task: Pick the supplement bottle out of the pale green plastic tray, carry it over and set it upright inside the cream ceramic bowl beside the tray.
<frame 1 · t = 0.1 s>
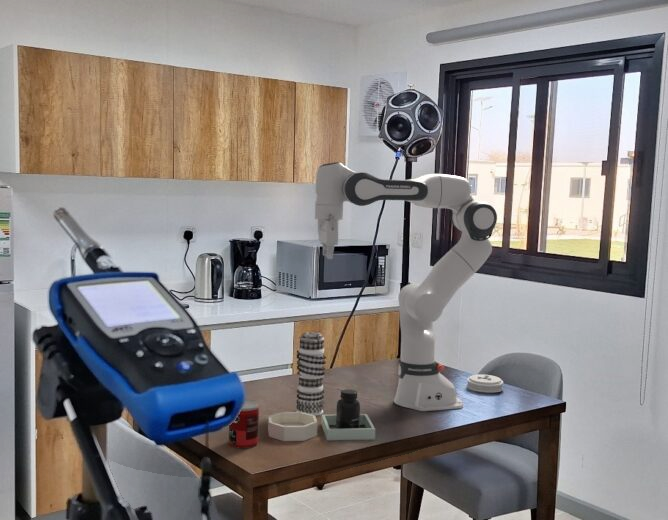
hand: (327, 257, 234), 48 cm above the table, tool pointing down, fingers open, 8 cm apart
canned food: (243, 444, 200), on the table
tray: (347, 431, 212), on the table
supplement bottle: (347, 432, 212), resting in tray
lid: (484, 390, 262), on the table
bowl: (292, 432, 210), on the table
decorative candle: (309, 412, 230), on the table
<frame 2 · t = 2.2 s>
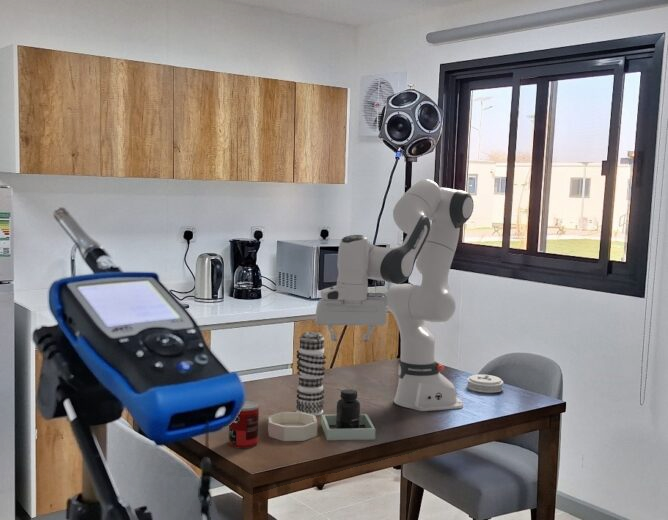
hand: (350, 340, 210), 27 cm above the table, tool pointing down, fingers open, 8 cm apart
nothing on the table moved.
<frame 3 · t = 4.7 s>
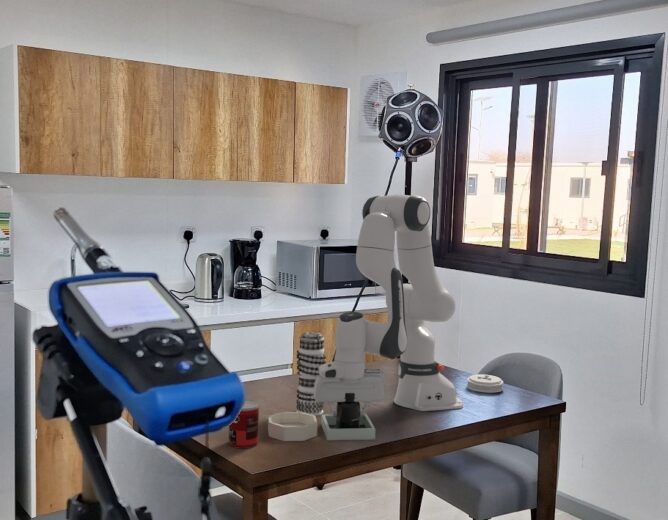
hand: (348, 416, 212), 5 cm above the table, tool pointing down, fingers closed on supplement bottle, 7 cm apart
supplement bottle: (347, 432, 212), resting in tray, touching gripper
everything else where it was.
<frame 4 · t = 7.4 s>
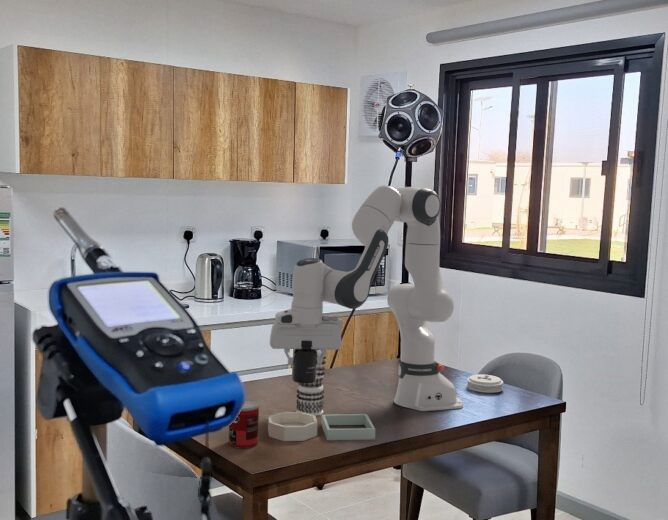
hand: (304, 364, 208), 20 cm above the table, tool pointing down, fingers closed on supplement bottle, 7 cm apart
supplement bottle: (304, 381, 208), point 15 cm above the table, touching gripper
everything else where it was.
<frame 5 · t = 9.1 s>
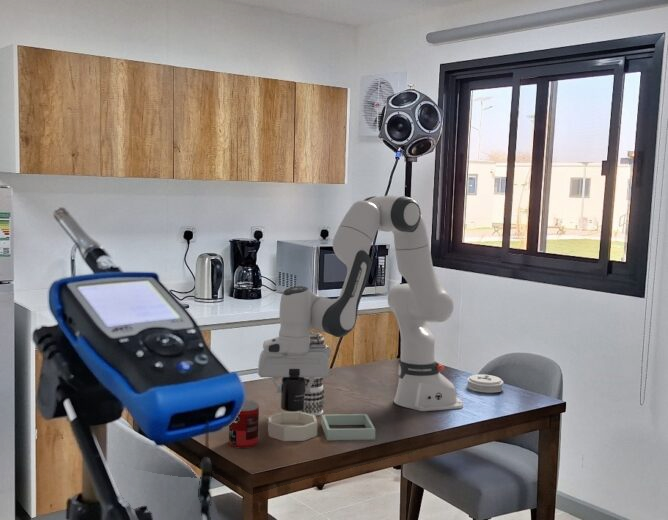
hand: (293, 392, 209), 12 cm above the table, tool pointing down, fingers closed on supplement bottle, 7 cm apart
supplement bottle: (292, 409, 209), point 7 cm above the table, touching gripper
everything else where it was.
when the fingers open (7 cm above the table, at t = 10.6 s): supplement bottle stays where it is, resting on bowl.
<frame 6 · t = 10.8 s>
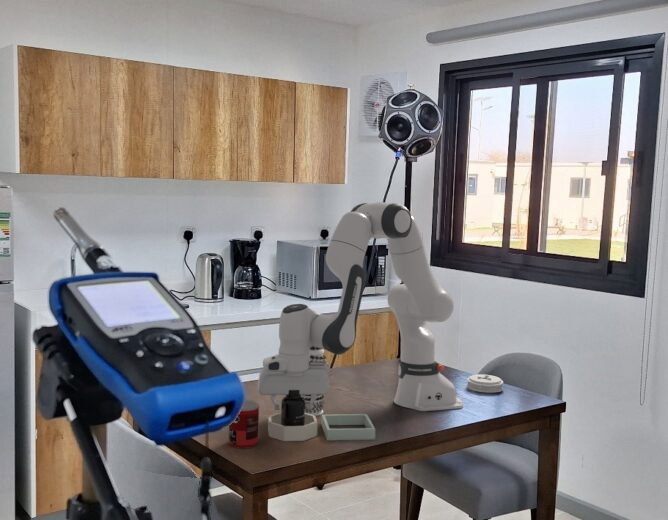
hand: (292, 409, 209), 7 cm above the table, tool pointing down, fingers open, 8 cm apart
supplement bottle: (292, 429, 210), point 1 cm above the table, touching bowl
everything else where it was.
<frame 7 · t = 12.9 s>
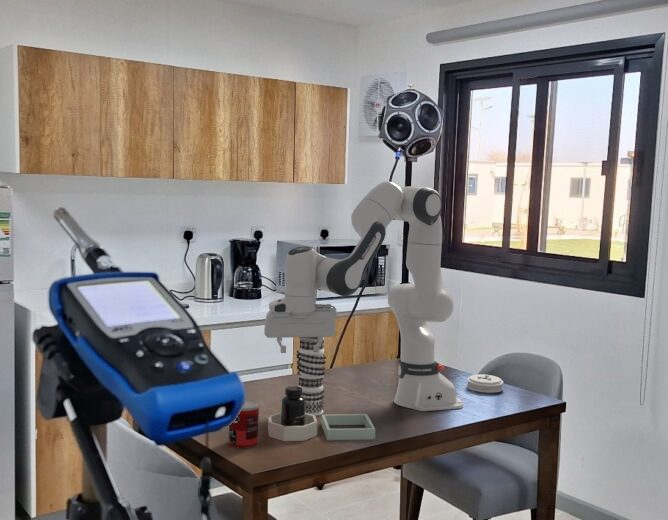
hand: (299, 352, 210), 23 cm above the table, tool pointing down, fingers open, 8 cm apart
nothing on the table moved.
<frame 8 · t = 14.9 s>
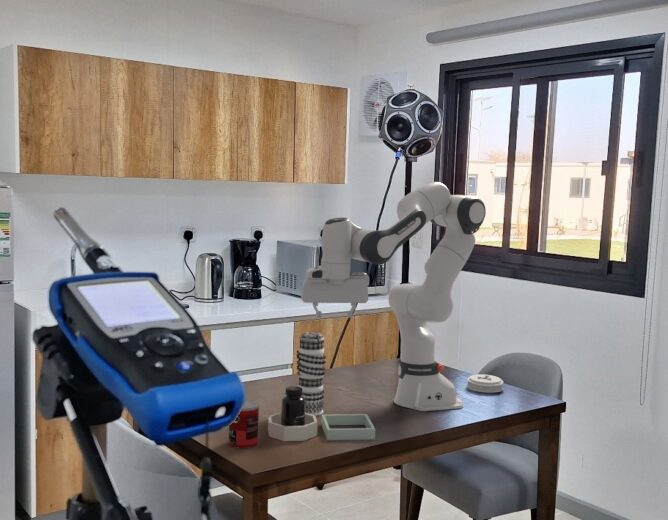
hand: (334, 317, 222), 31 cm above the table, tool pointing down, fingers open, 8 cm apart
nothing on the table moved.
at the end: supplement bottle 0.1 cm off-centre on the bowl, point 0.8 cm above the bowl's base; supplement bottle tilted 0°; the gripper is holding nothing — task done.
